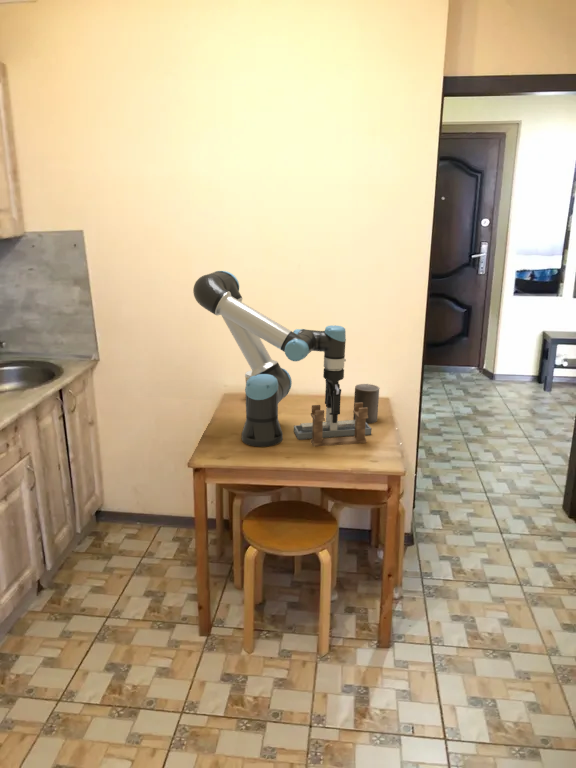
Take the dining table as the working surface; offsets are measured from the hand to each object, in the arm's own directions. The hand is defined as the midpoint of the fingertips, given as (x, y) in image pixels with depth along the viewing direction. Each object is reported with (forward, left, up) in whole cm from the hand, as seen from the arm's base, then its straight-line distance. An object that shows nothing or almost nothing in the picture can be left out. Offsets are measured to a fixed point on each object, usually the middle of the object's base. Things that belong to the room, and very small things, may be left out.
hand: (331, 426), depth 232 cm
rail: (0, 0, -2) cm, 2 cm away
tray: (0, 0, -3) cm, 3 cm away
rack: (0, -9, -3) cm, 9 cm away
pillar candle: (+17, +12, -3) cm, 21 cm away
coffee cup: (-23, +45, -3) cm, 50 cm away
